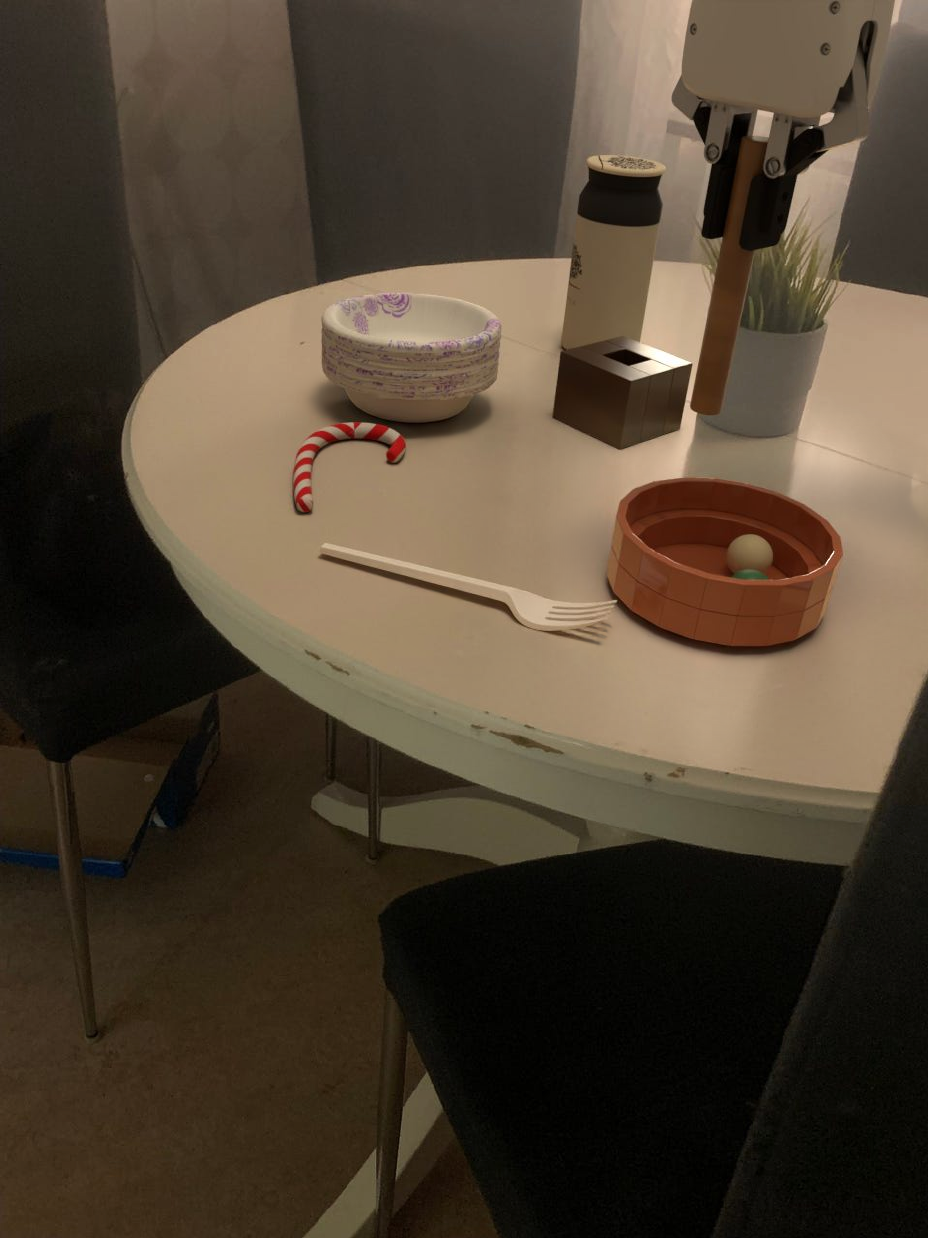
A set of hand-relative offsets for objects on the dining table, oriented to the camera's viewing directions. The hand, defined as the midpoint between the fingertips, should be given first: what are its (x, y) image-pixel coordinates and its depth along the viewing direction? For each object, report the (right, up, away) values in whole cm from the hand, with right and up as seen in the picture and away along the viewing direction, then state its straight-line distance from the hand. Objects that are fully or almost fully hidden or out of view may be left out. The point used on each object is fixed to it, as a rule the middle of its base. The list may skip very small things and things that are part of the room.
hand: (740, 238), depth 63 cm
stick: (-1, -9, +6) cm, 11 cm away
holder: (-3, -5, +32) cm, 32 cm away
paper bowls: (-21, -3, +32) cm, 39 cm away
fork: (-16, -21, +7) cm, 27 cm away
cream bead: (+3, -18, +9) cm, 20 cm away
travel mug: (-2, +5, +48) cm, 48 cm away
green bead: (+2, -21, +5) cm, 21 cm away
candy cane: (-26, -11, +20) cm, 34 cm away
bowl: (0, -20, +9) cm, 22 cm away
